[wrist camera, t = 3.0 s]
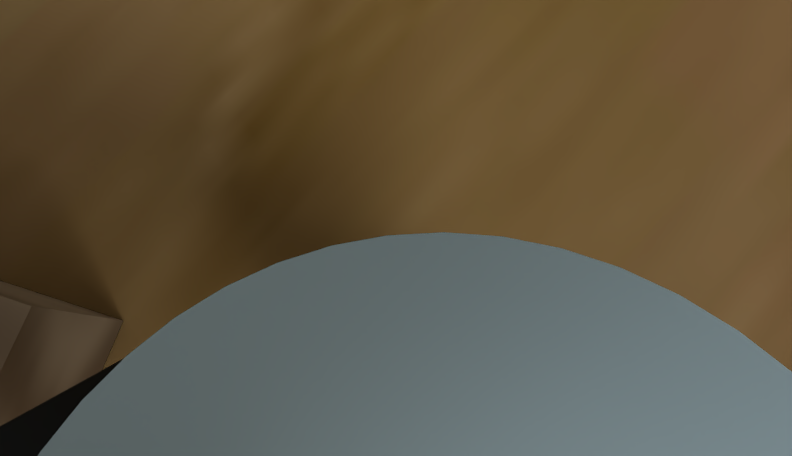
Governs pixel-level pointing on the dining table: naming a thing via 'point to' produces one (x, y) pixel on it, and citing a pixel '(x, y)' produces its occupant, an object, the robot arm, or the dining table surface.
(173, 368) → the peg
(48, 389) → the socket block
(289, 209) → the dining table surface
